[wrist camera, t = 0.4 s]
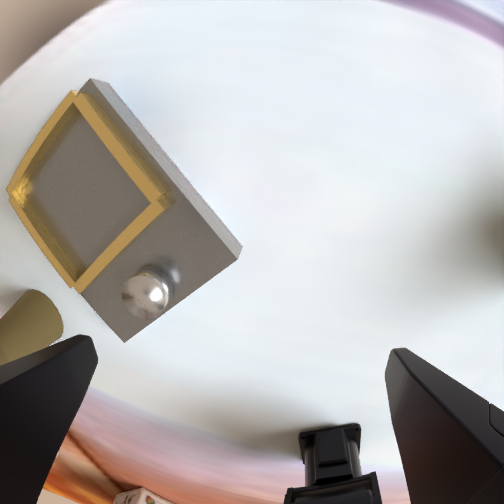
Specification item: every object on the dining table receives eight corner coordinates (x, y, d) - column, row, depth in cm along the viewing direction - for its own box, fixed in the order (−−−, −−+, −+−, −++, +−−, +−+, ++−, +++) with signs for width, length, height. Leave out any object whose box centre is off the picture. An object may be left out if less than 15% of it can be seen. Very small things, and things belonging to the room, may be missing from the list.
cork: (21, 318, 27) (-39, 371, 17) (25, 278, 25) (-49, 330, 15) (59, 349, 27) (3, 413, 17) (67, 311, 26) (-3, 378, 15)
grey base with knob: (242, 246, 22) (232, 271, 17) (136, 326, 25) (113, 357, 21) (108, 83, 18) (73, 74, 14) (28, 188, 22) (-7, 198, 18)
